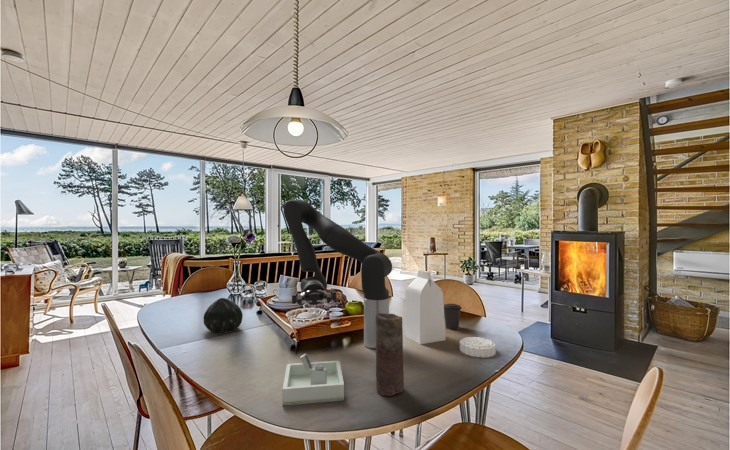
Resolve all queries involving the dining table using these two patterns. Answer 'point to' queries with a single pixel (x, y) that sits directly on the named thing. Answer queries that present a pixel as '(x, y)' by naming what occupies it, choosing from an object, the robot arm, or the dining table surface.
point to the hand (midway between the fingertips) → (314, 301)
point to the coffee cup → (452, 316)
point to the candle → (389, 354)
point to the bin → (303, 392)
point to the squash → (223, 316)
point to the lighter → (315, 371)
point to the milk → (424, 310)
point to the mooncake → (477, 347)
